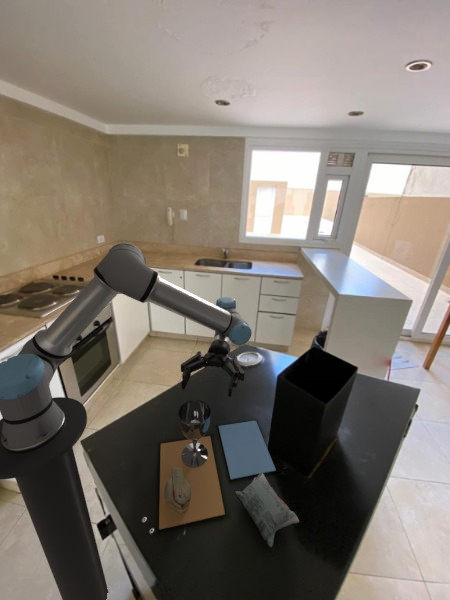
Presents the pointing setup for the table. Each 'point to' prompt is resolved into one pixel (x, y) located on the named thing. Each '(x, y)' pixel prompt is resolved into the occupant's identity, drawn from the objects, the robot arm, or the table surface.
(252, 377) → the table surface
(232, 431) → the mat blue
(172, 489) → the grey stone figurine
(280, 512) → the packaged food
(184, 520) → the mat brown
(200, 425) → the wine glass
